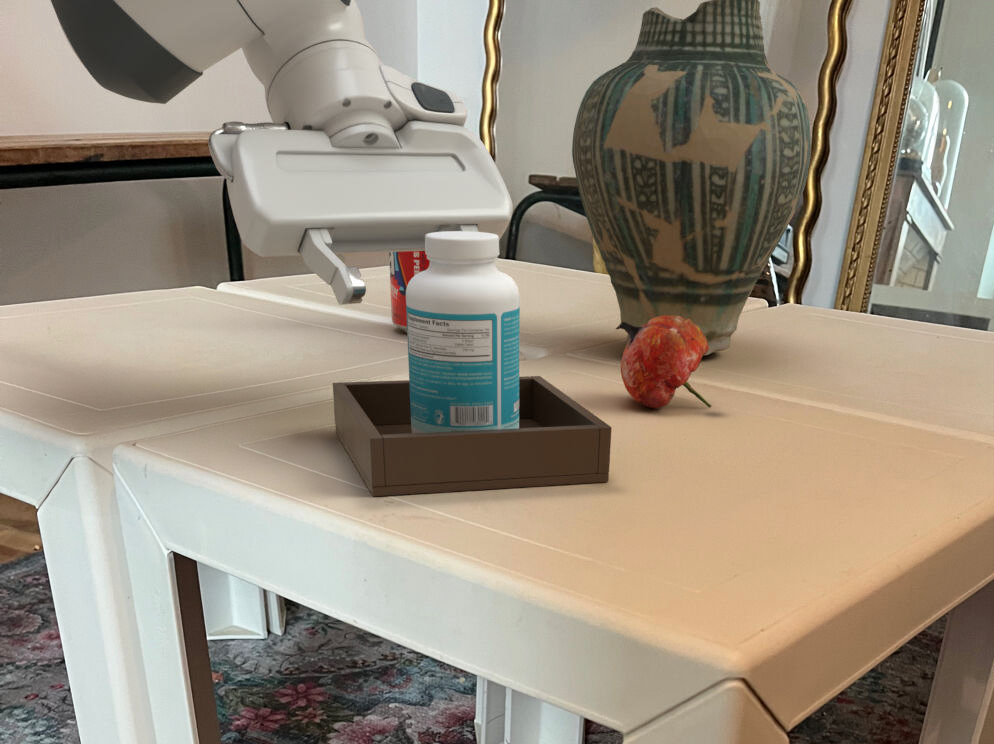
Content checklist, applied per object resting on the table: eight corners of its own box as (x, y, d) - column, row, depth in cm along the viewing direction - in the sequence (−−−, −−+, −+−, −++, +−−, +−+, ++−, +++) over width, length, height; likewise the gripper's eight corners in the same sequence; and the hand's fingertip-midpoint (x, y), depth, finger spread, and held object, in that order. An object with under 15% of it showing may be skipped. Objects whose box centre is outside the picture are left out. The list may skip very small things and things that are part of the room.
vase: (827, 371, 108) (882, -2, 93) (614, 380, 101) (637, -21, 86) (722, 330, 126) (754, 12, 111) (535, 336, 119) (542, -3, 104)
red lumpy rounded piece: (691, 422, 98) (606, 342, 96) (749, 360, 93) (661, 275, 92) (673, 452, 92) (581, 368, 90) (733, 387, 88) (638, 298, 86)
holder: (372, 496, 69) (369, 438, 68) (335, 432, 82) (332, 382, 80) (608, 482, 74) (611, 427, 72) (538, 423, 87) (540, 375, 85)
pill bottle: (471, 428, 82) (470, 226, 76) (540, 450, 78) (546, 237, 71) (389, 444, 78) (379, 231, 71) (457, 468, 73) (455, 243, 66)
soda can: (446, 340, 115) (444, 176, 108) (378, 332, 117) (371, 172, 110) (477, 328, 122) (477, 173, 114) (412, 321, 124) (408, 169, 116)
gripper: (207, 84, 71) (285, 270, 69) (480, 96, 82) (553, 258, 80) (190, 159, 76) (262, 334, 74) (449, 162, 87) (517, 314, 85)
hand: (415, 294), depth 77 cm, fingers open, 8 cm apart
